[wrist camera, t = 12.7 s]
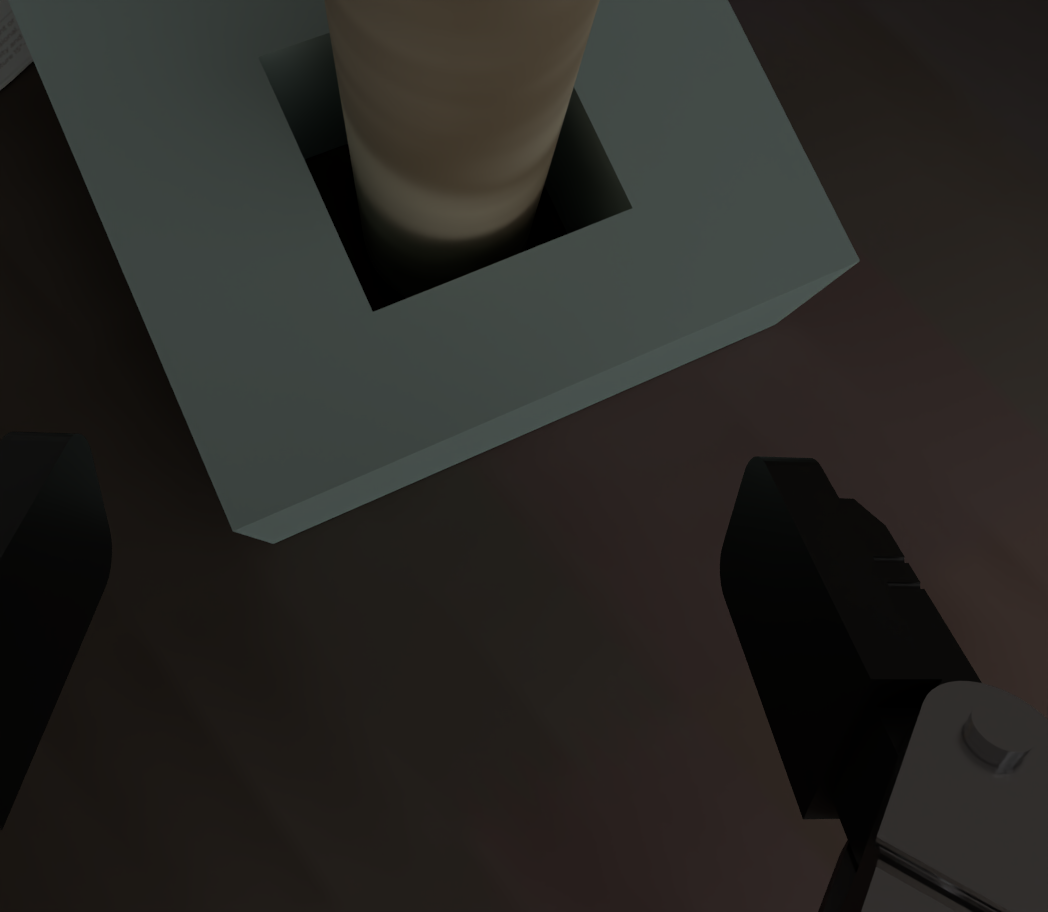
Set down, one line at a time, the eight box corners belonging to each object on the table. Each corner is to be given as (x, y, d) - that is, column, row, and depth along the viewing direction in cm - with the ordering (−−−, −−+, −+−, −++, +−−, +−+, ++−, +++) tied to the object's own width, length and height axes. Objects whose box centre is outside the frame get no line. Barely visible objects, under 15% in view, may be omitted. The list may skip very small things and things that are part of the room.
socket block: (589, -53, 21) (627, -199, 17) (775, 324, 20) (859, 260, 16) (91, 118, 19) (6, -3, 15) (273, 543, 18) (233, 531, 14)
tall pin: (487, 128, 20) (579, -523, 8) (555, 273, 20) (750, -190, 8) (334, 185, 20) (201, -427, 8) (402, 335, 19) (371, -67, 7)
